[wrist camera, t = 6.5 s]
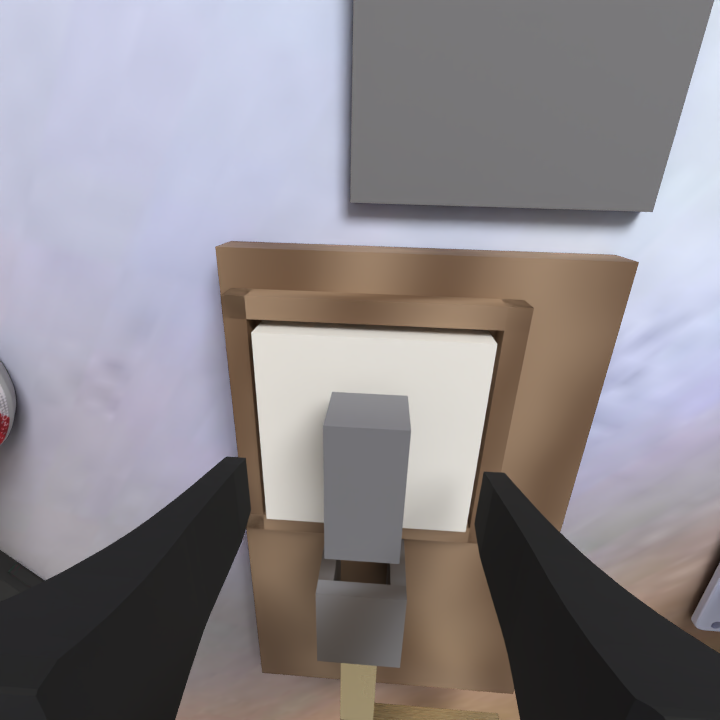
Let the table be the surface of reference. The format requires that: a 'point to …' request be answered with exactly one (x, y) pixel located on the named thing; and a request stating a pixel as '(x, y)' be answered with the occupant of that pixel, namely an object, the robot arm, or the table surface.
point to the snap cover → (370, 428)
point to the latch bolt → (366, 716)
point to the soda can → (6, 404)
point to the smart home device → (14, 577)
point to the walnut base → (497, 450)
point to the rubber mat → (519, 100)
